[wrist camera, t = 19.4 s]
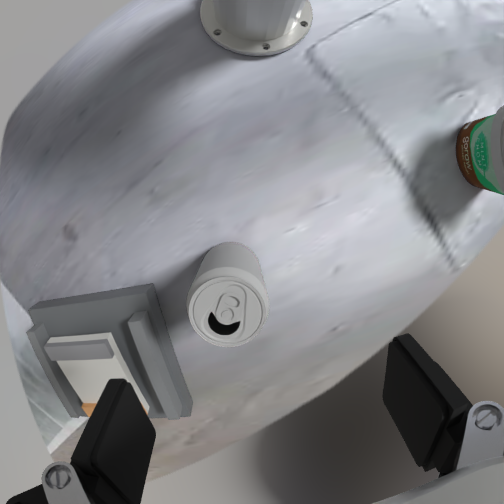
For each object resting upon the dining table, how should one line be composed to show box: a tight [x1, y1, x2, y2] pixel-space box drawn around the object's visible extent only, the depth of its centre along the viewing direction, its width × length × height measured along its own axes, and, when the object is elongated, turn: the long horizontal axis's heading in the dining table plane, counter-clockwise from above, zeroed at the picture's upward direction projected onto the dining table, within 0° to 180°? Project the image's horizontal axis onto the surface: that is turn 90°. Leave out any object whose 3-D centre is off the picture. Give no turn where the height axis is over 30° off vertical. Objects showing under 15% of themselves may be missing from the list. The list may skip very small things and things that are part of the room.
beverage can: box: [186, 242, 270, 347], centre depth 27 cm, size 6×6×12 cm
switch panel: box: [26, 283, 193, 420], centre depth 33 cm, size 18×18×6 cm
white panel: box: [44, 332, 149, 417], centre depth 30 cm, size 12×9×2 cm
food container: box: [456, 106, 504, 195], centre depth 26 cm, size 12×6×10 cm, turn 19°
